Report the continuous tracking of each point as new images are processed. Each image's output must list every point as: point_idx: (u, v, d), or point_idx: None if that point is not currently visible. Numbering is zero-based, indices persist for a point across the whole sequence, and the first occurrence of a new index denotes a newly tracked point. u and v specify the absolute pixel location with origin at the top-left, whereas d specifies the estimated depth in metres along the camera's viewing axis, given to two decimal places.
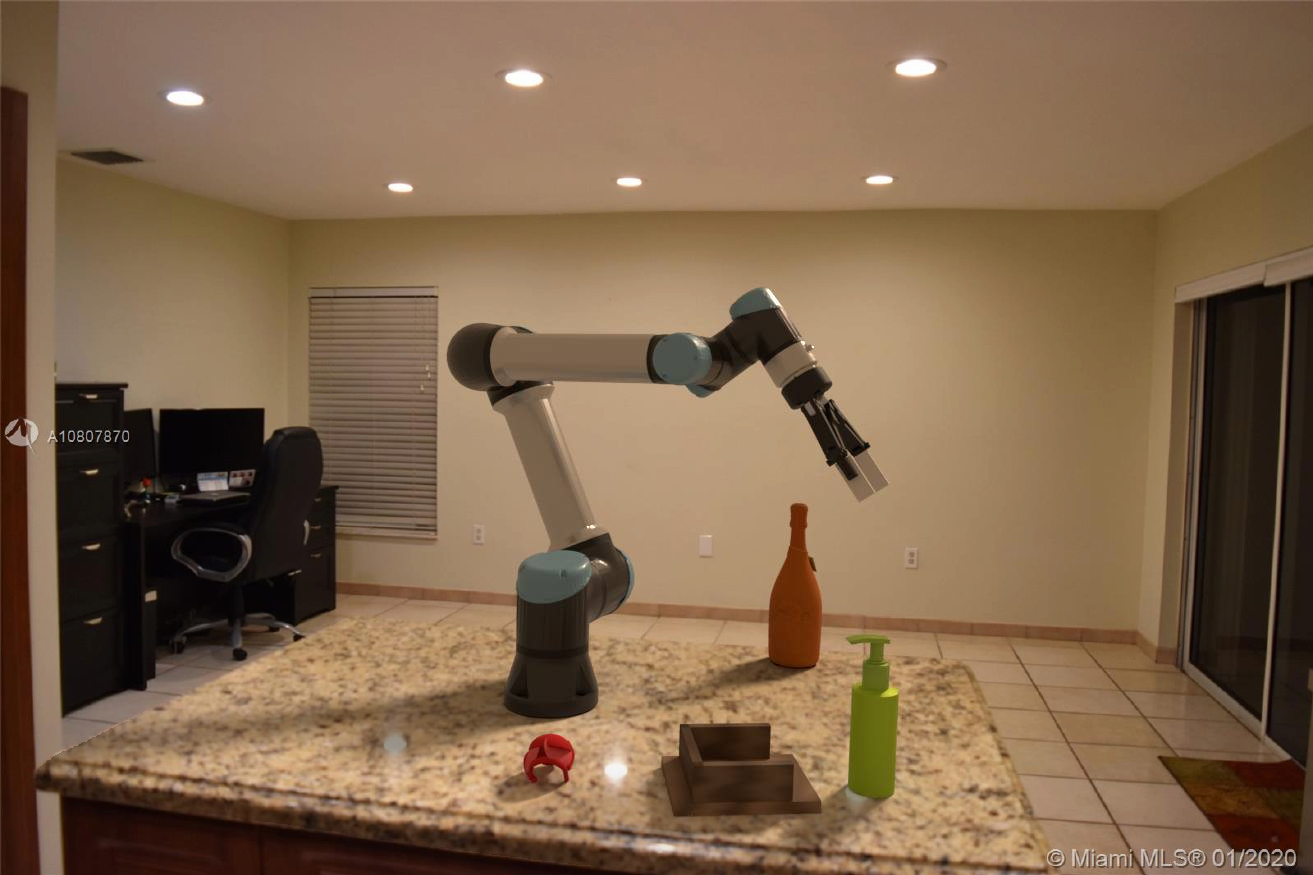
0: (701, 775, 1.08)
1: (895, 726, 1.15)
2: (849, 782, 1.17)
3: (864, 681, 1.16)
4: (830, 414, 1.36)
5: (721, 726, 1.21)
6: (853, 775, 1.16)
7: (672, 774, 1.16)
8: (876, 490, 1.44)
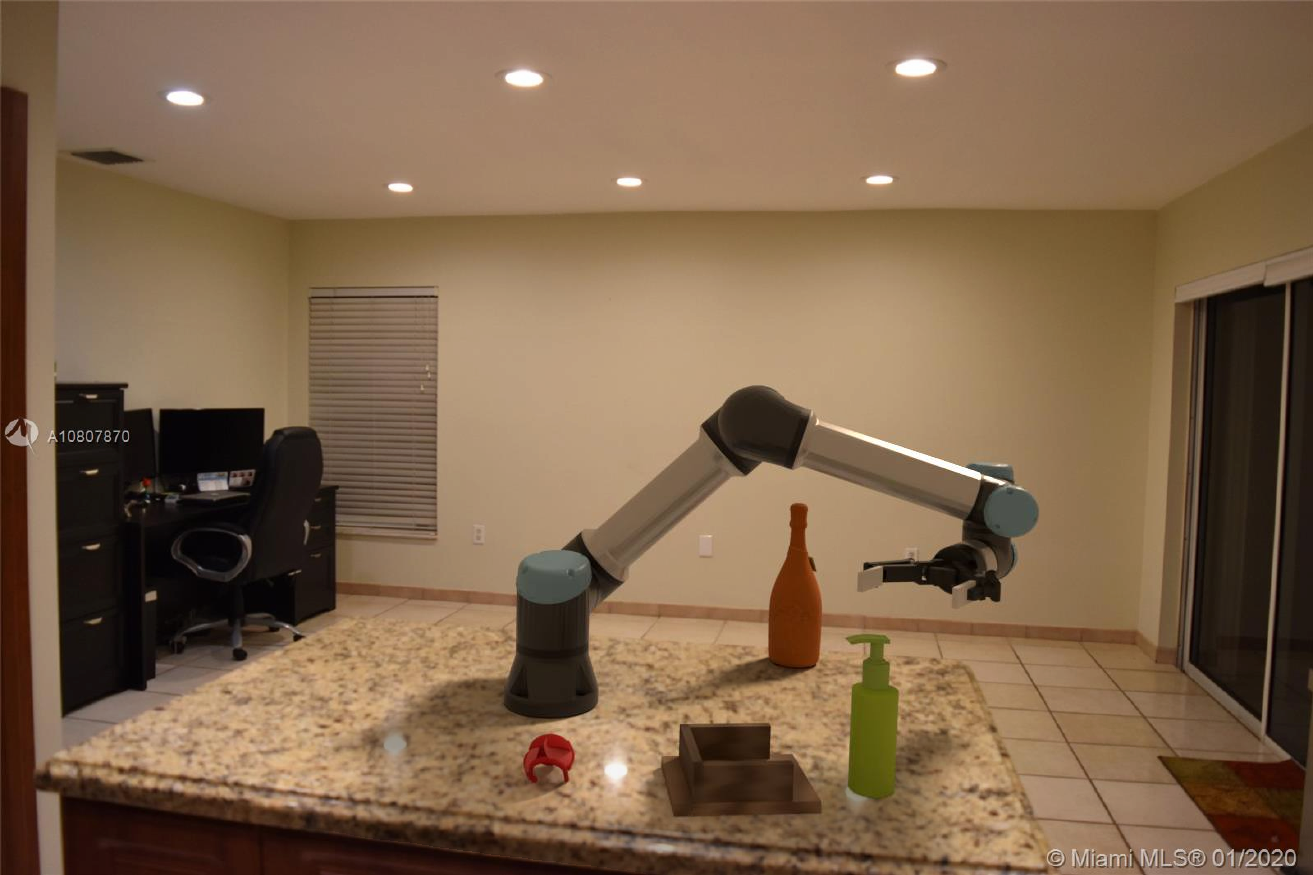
0: (701, 775, 1.08)
1: (895, 726, 1.15)
2: (849, 782, 1.17)
3: (864, 681, 1.16)
4: None
5: (721, 726, 1.21)
6: (853, 775, 1.16)
7: (672, 774, 1.16)
8: (863, 576, 1.27)
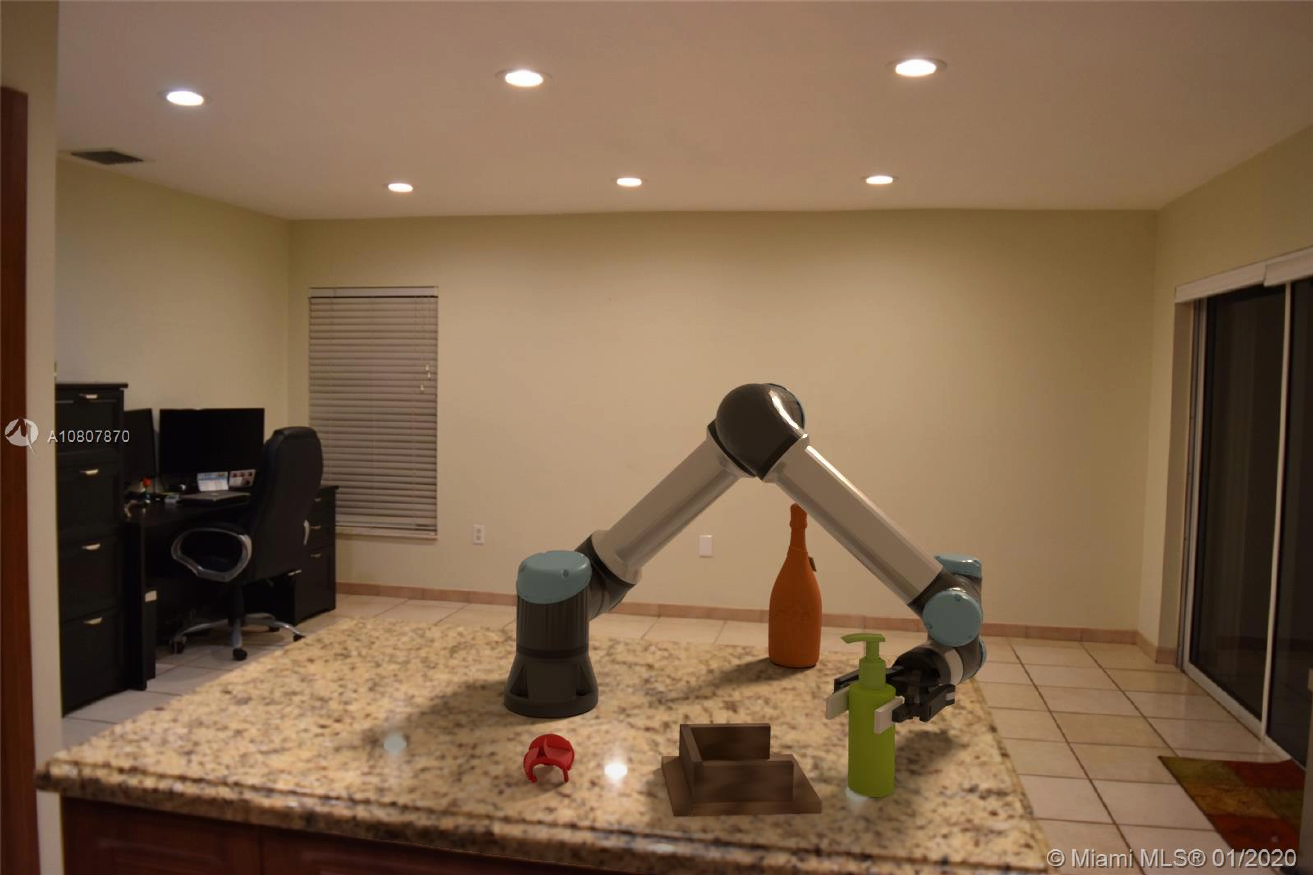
0: (701, 775, 1.08)
1: None
2: (849, 782, 1.17)
3: (861, 680, 1.16)
4: (919, 701, 1.22)
5: (721, 726, 1.21)
6: (852, 774, 1.16)
7: (672, 774, 1.16)
8: (832, 702, 1.14)
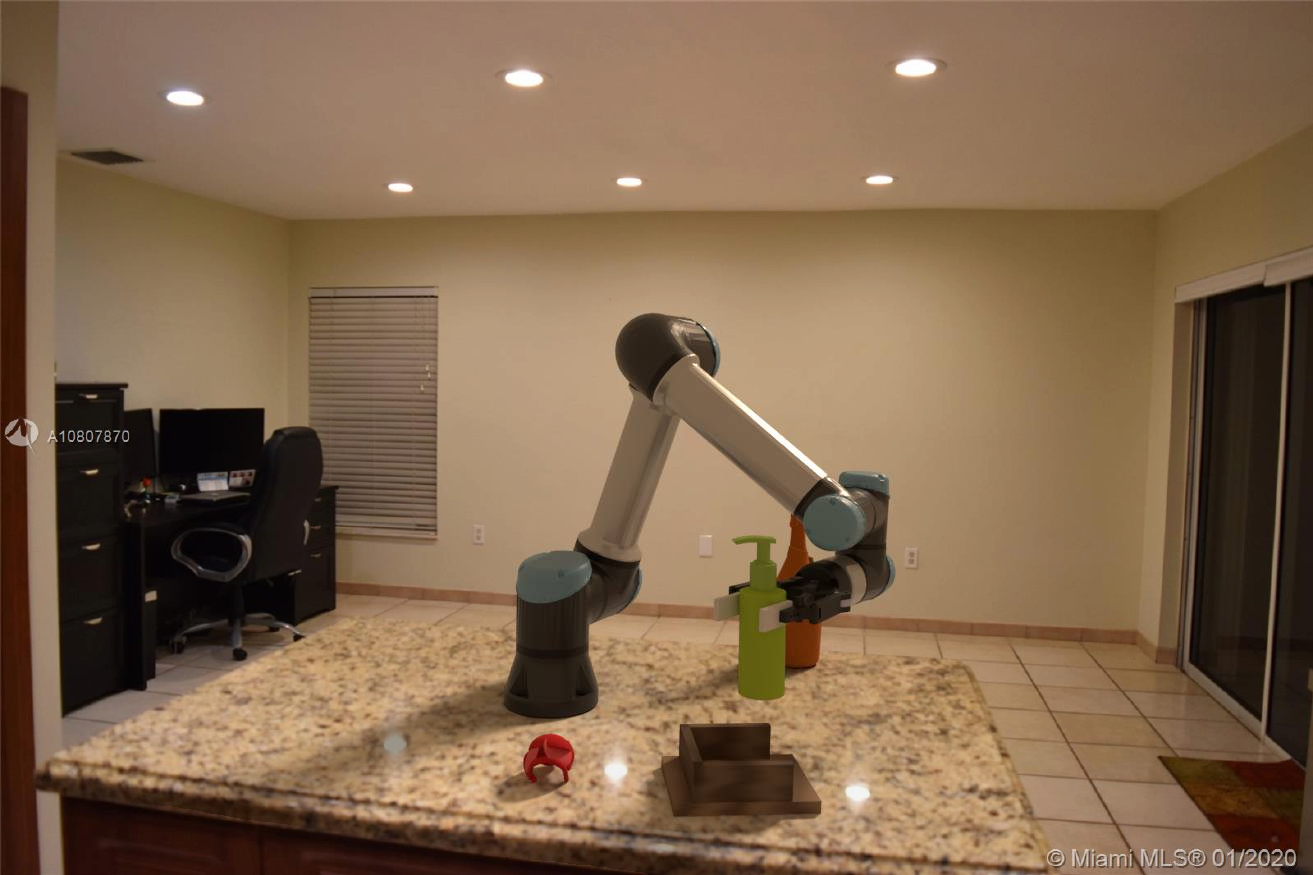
0: (701, 775, 1.08)
1: (782, 627, 1.13)
2: (738, 686, 1.15)
3: (751, 582, 1.14)
4: None
5: (721, 726, 1.21)
6: (741, 678, 1.14)
7: (672, 774, 1.16)
8: (720, 603, 1.12)
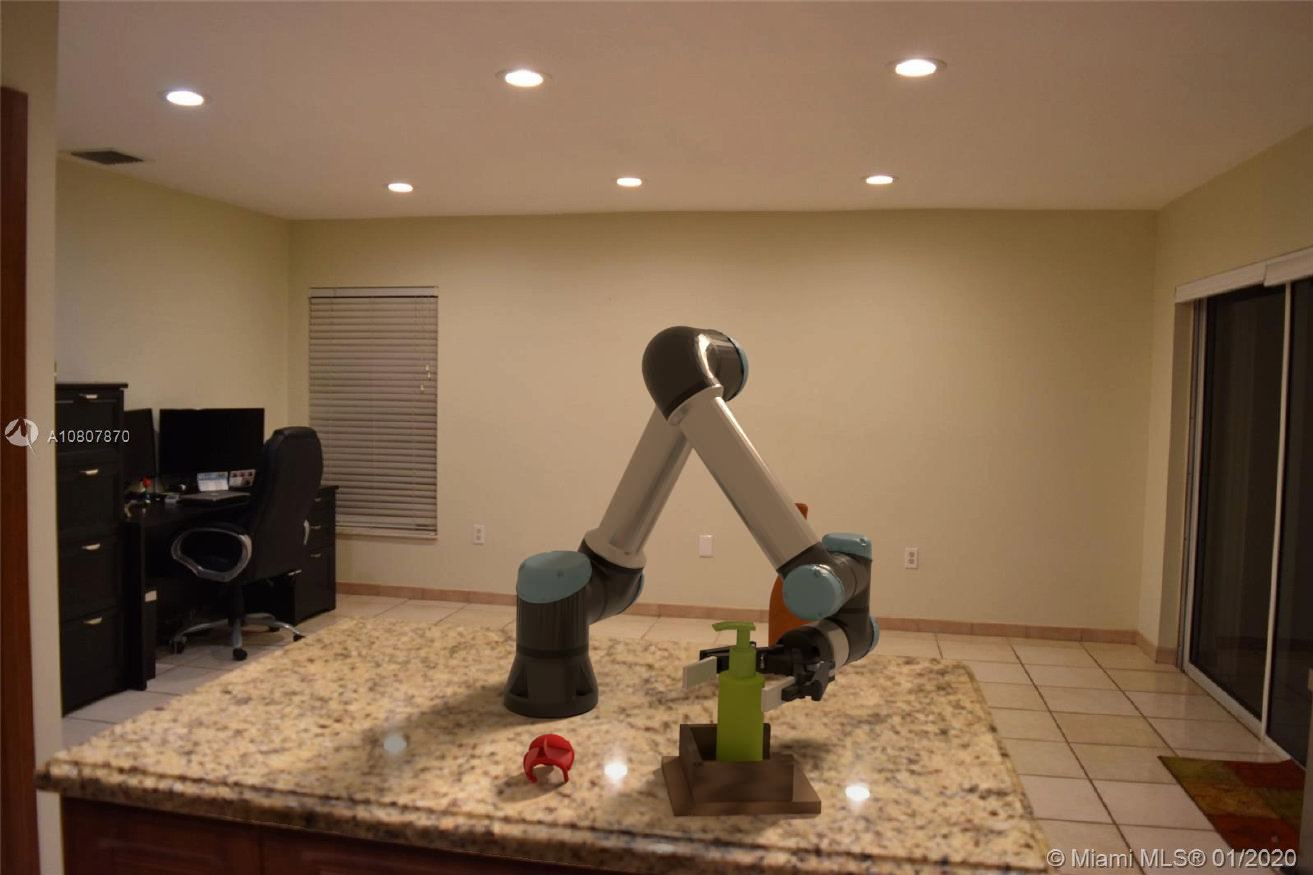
0: (701, 775, 1.08)
1: (760, 714, 1.14)
2: None
3: (730, 668, 1.15)
4: None
5: None
6: None
7: (672, 774, 1.16)
8: (688, 671, 1.16)
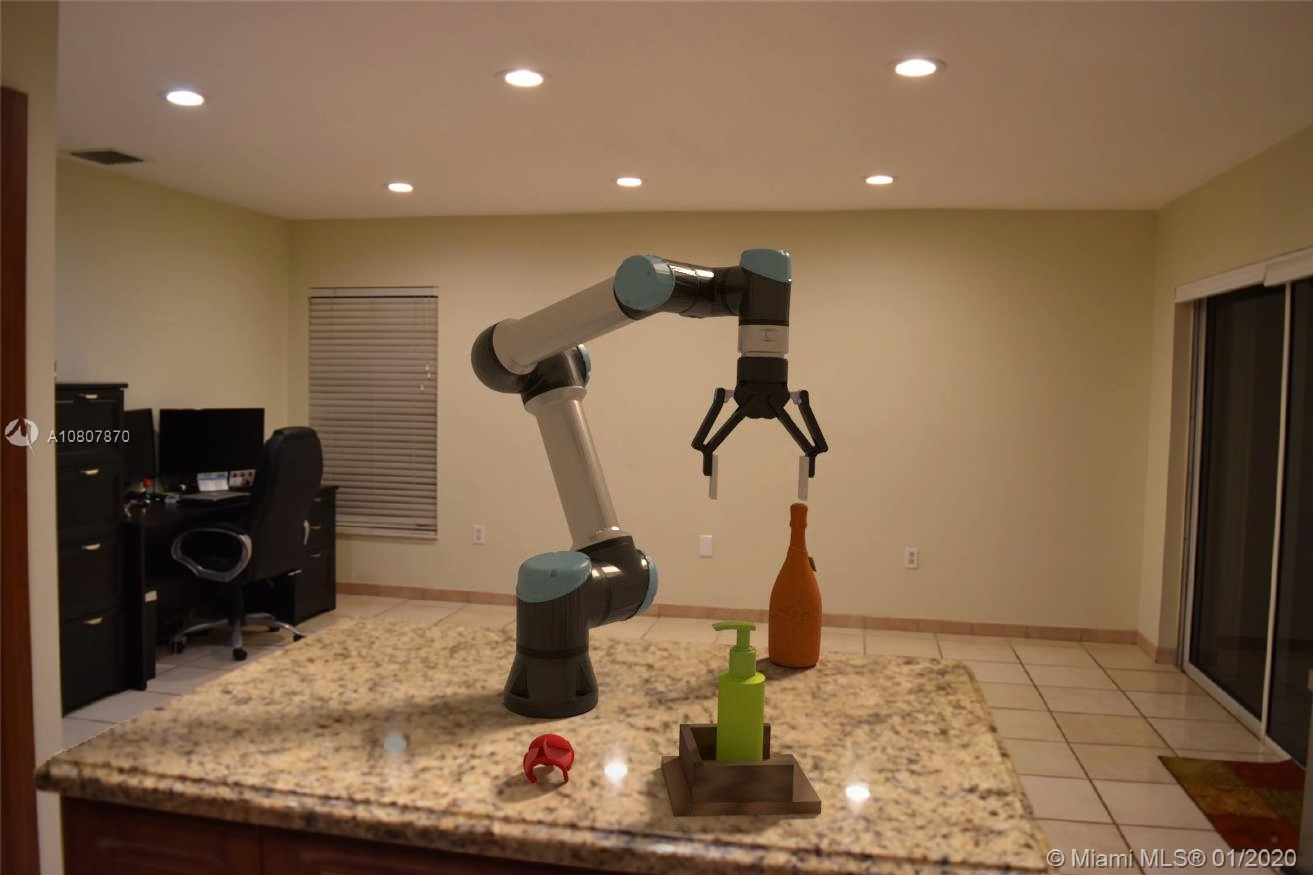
0: (701, 775, 1.08)
1: (760, 713, 1.14)
2: None
3: (730, 668, 1.15)
4: (741, 408, 1.32)
5: None
6: None
7: (672, 774, 1.16)
8: (798, 497, 1.36)
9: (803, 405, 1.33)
